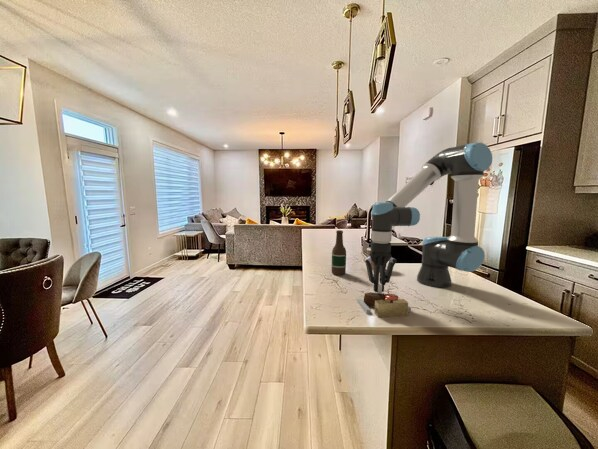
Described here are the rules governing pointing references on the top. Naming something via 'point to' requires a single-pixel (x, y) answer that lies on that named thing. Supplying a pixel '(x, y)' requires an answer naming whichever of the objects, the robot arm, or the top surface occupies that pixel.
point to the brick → (373, 298)
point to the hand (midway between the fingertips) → (378, 299)
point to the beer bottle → (339, 255)
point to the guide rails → (369, 308)
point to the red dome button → (391, 306)
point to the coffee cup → (371, 260)
